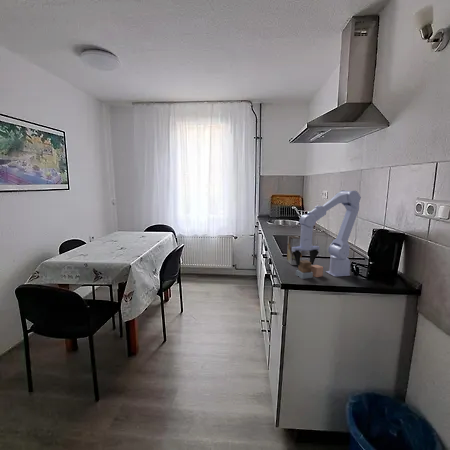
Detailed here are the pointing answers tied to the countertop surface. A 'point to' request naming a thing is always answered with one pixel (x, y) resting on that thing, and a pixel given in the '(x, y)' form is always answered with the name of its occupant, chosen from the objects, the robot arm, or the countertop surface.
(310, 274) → the plinth block
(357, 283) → the countertop surface
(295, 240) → the coffee box
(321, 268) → the terracotta block
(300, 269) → the walnut block
